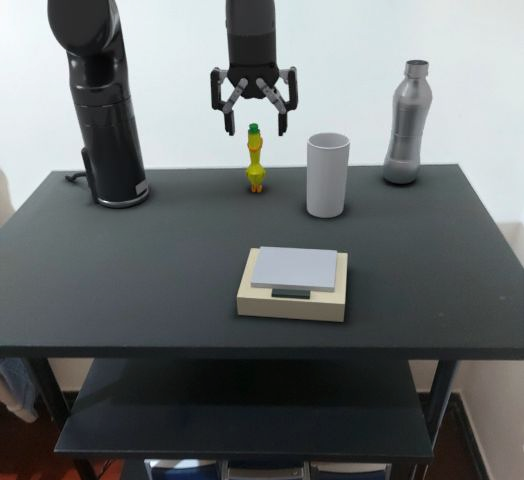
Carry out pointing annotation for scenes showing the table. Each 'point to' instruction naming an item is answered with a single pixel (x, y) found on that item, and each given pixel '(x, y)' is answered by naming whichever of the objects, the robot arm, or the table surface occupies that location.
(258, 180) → the toy figure
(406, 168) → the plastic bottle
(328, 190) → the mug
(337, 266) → the scale
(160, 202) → the table surface
